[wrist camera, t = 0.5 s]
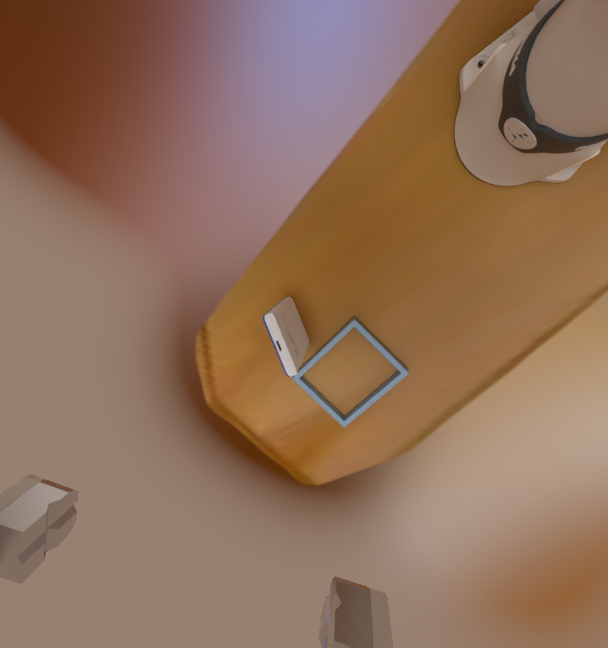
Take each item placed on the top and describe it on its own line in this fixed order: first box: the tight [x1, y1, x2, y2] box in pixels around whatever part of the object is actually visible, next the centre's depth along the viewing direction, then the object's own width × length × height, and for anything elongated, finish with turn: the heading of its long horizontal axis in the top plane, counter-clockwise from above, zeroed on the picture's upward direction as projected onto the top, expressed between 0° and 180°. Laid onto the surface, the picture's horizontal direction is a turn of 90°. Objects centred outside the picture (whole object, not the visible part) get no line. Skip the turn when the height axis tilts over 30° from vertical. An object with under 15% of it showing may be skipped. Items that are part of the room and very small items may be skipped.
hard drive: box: [263, 296, 310, 377], centre depth 45 cm, size 2×8×12 cm, turn 21°
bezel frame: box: [292, 317, 409, 427], centre depth 51 cm, size 14×12×2 cm
